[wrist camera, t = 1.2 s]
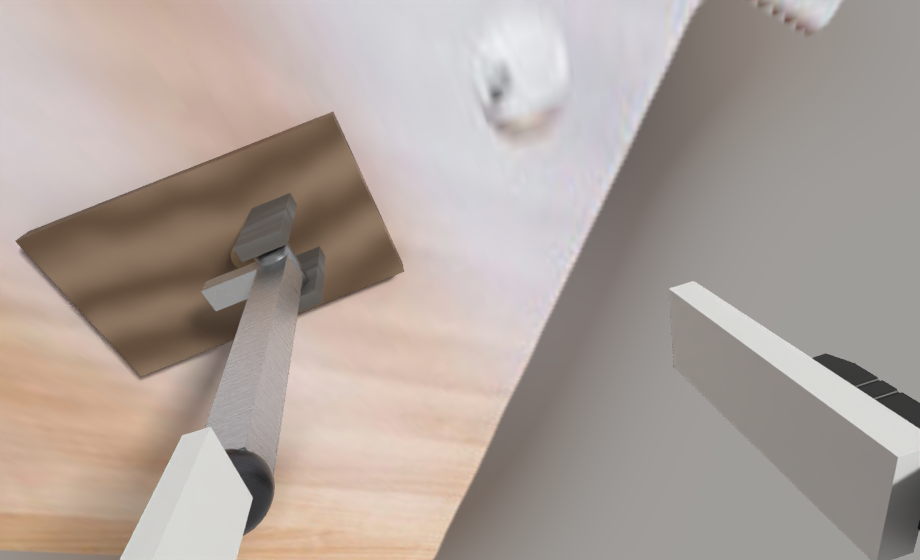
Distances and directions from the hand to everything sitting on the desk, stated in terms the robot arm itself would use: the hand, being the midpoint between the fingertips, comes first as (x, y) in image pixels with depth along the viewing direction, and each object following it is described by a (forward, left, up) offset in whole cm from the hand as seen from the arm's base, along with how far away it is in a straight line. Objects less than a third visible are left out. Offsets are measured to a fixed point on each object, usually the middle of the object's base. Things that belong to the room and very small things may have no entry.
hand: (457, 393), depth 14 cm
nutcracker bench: (+5, -17, -35) cm, 39 cm away
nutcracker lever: (+5, -13, -28) cm, 31 cm away
